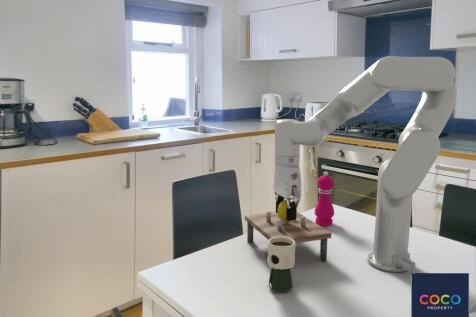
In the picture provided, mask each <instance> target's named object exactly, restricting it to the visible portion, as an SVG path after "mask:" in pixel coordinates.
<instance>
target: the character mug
mask: <svg viewBox="0 0 476 317" xmlns="http://www.w3.org/2000/svg"><path fill="white" fill-rule="evenodd" d="M267 240H268V239H267ZM266 261H267V265H268V267H270V272H269V277H268V288H270V290H271V291H274V292H278V293H283V292H287V291H289V290H292V288H293V277H292V276H293V275H292V268H294V266H295V264H296V263H295V262H296V244H295V241H294V240H293V239H291V238H288V237H273V238H271V239H269V240H268V241H267V260H266Z"/></svg>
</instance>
